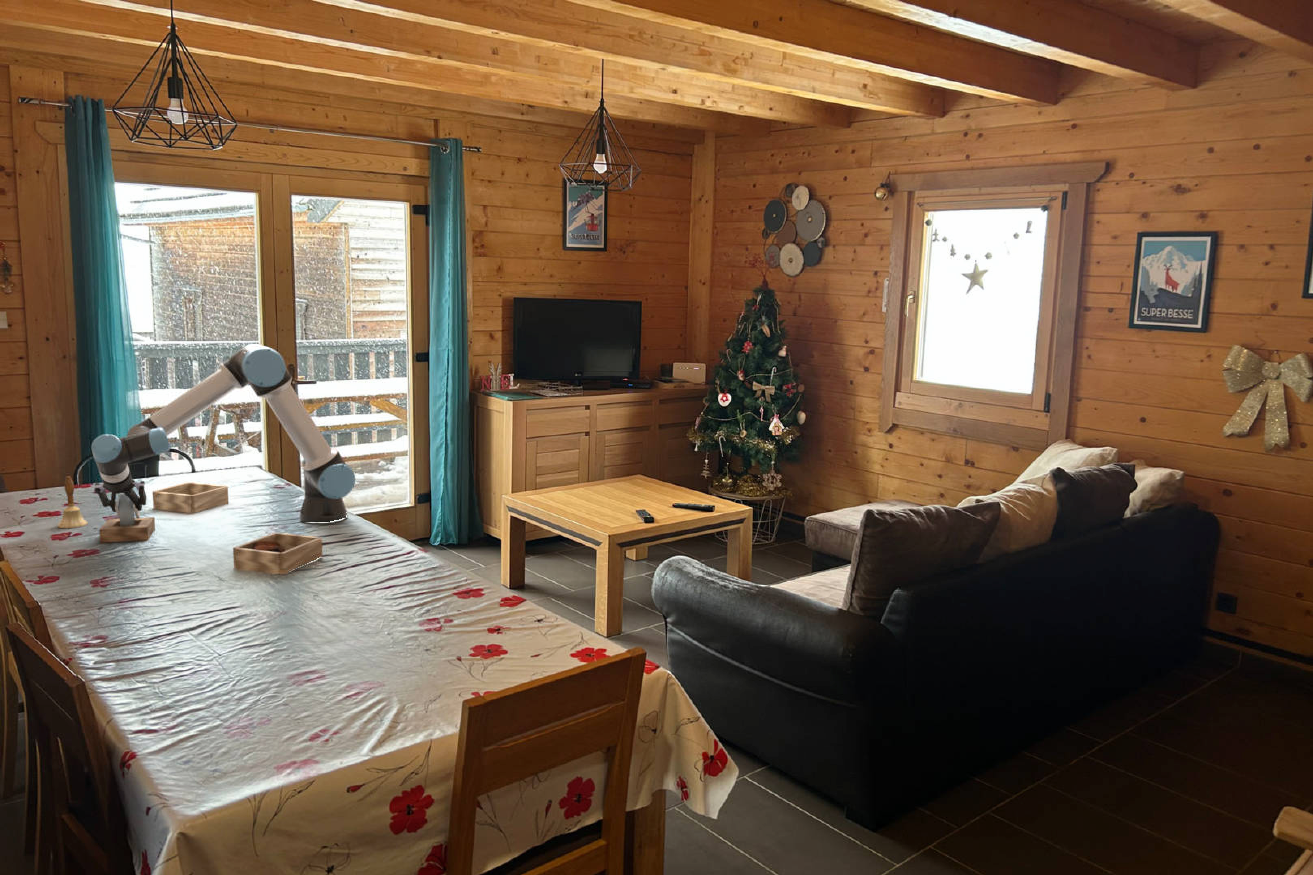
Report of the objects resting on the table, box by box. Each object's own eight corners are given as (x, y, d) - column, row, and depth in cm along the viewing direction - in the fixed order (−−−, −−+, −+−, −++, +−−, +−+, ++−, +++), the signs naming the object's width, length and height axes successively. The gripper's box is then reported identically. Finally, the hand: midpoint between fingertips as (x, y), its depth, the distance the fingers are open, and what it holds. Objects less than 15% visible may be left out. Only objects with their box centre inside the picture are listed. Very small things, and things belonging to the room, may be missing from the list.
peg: (138, 530, 301) (136, 492, 299) (128, 533, 297) (125, 495, 295) (128, 528, 302) (125, 491, 300) (117, 531, 298) (115, 493, 296)
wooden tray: (229, 502, 345) (228, 486, 344) (193, 513, 329) (193, 496, 328) (189, 498, 350) (188, 482, 349) (152, 508, 334) (151, 491, 333)
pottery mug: (239, 571, 269) (242, 542, 272) (264, 577, 277) (266, 549, 280) (274, 565, 265) (276, 536, 268) (298, 571, 273) (300, 543, 276)
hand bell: (77, 528, 306) (73, 479, 304) (51, 527, 306) (47, 478, 304) (93, 522, 314) (89, 474, 312) (68, 521, 314) (64, 473, 312)
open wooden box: (323, 557, 282) (323, 537, 281) (282, 575, 264) (282, 554, 263) (275, 551, 286) (275, 532, 285) (232, 569, 269) (231, 548, 268)
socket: (155, 529, 308) (154, 517, 307) (148, 539, 295) (147, 527, 295) (109, 531, 303) (108, 519, 303) (100, 542, 291) (99, 529, 291)
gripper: (80, 485, 279) (96, 527, 297) (147, 483, 285) (159, 523, 303) (83, 464, 283) (99, 506, 301) (149, 462, 289) (161, 503, 307)
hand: (129, 514), depth 302 cm, fingers open, 4 cm apart
